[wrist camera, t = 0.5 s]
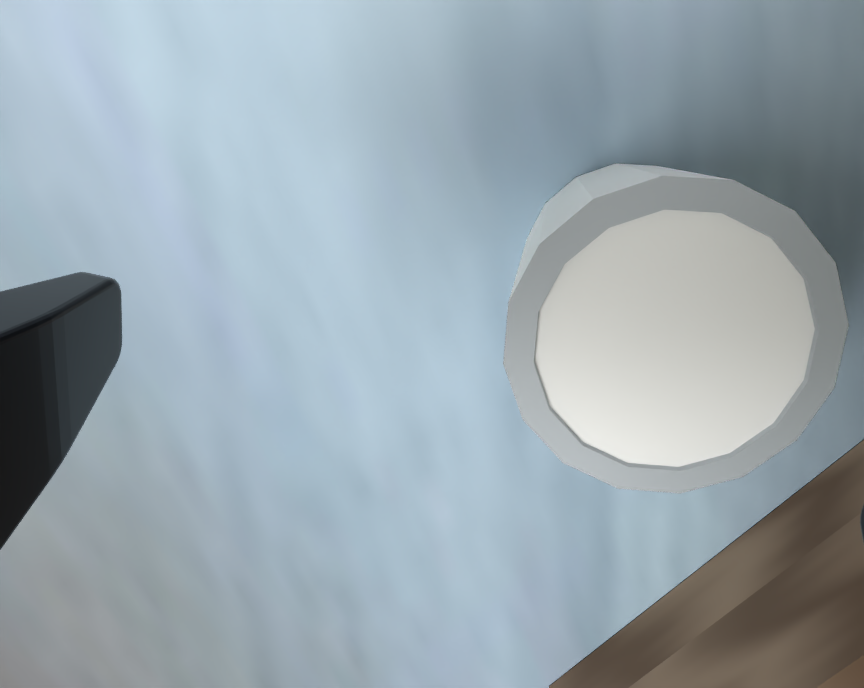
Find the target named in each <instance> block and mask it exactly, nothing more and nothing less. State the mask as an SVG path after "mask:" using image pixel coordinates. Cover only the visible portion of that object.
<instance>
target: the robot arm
mask: <svg viewBox="0 0 864 688" xmlns="http://www.w3.org/2000/svg"><path fill="white" fill-rule="evenodd" d="M121 347H122V310H121V290H120V286H119V284H118V283H117V281H116V280H115V279H112V278H109V277H105V276H100V275H96V274H91V273H86V272H79V273H74V274H70V275H66V276H62V277H58V278H54V279H50V280H46V281H42V282H38V283H34V284H30V285H26V286H22V287H18V288H14V289H9V290H5V291H1V292H0V550H1V548H2V547H3V545H4V544H5V543H6V541H7V540H8V538H9V537H10V536H11V534H12V533H13V531H14V530H15V529H16V527H17V526H18V524H19V523H20V522H21V520H22V519H23V517H24V516H25V515H26V513H27V512H28V510H29V509H30V508H31V506H32V505H33V503H34V502H35V500H36V499H37V498H38V496H39V495H40V493H41V492H42V491H43V489H44V488H45V486H46V485H47V484H48V482H49V481H50V479H51V478H52V476H53V475H54V474H55V472H56V471H57V469H58V468H59V466H60V465H61V463H62V462H63V460H64V458H65V456H66V455H67V453H68V451H69V450H70V448H71V446H72V444H73V442H74V441H75V439H76V437H77V435H78V433H79V431H80V430H81V428H82V426H83V424H84V422H85V420H86V418H87V417H88V415H89V413H90V411H91V409H92V407H93V406H94V404H95V402H96V400H97V398H98V396H99V394H100V393H101V391H102V389H103V387H104V385H105V383H106V382H107V380H108V378H109V376H110V374H111V372H112V370H113V369H114V367H115V365H116V363H117V361H118V358H119V356H120V352H121ZM860 527H861V532H862V538H863V543H864V504H863V507H862V510H861V515H860Z"/></svg>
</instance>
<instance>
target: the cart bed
mask: <svg viewBox="0 0 864 688" xmlns="http://www.w3.org/2000/svg"><path fill="white" fill-rule="evenodd" d="M863 504H864V440H863V441H862V442H860V443H859V444H858V445H856V446H855V447H854V448H853V449H851V450H850V451H849V452H848V453H846V454H845V455H844V456H842V457H841V458H840V459H839V460H837V461H836V462H835V463H834V464H832V465H831V466H830V467H828V468H827V469H826V470H825V471H823V472H822V473H821V474H819V475H818V476H817V477H816V478H814V479H813V480H812V481H811V482H809V483H808V484H807V485H805V486H804V487H803V488H802V489H800V490H799V491H798V492H797V493H795V494H794V495H793V496H791V497H790V498H789V499H788V500H786V501H785V502H784V503H782V504H781V505H780V506H779V507H777V508H776V509H775V510H774V511H772V512H771V513H770V514H768V515H767V516H766V517H765V518H763V519H762V520H761V521H759V522H758V523H757V524H756V525H754V526H753V527H752V528H751V529H749V530H748V531H747V532H745V533H744V534H743V535H742V536H740V537H739V538H738V539H737V540H735V541H734V542H733V543H731V544H730V545H729V546H728V547H726V548H725V549H724V550H722V551H721V552H720V553H719V554H717V555H716V556H715V557H714V558H712V559H711V560H710V561H708V562H707V563H706V564H705V565H703V566H702V567H701V568H699V569H698V570H697V571H696V572H694V573H693V574H692V575H691V576H689V577H688V578H687V579H685V580H684V581H683V582H682V583H680V584H679V585H678V586H677V587H675V588H674V589H673V590H671V591H670V592H669V593H668V594H666V595H665V596H664V597H662V598H661V599H660V600H659V601H657V602H656V603H655V604H654V605H652V606H651V607H650V608H648V609H647V610H646V611H645V612H643V613H642V614H641V615H640V616H638V617H637V618H636V619H634V620H633V621H632V622H631V623H629V624H628V625H627V626H625V627H624V628H623V629H622V630H620V631H619V632H618V633H617V634H615V635H614V636H613V637H611V638H610V639H609V640H608V641H606V642H605V643H604V644H602V645H601V646H600V647H599V648H597V649H596V650H595V651H594V652H592V653H591V654H590V655H588V656H587V657H586V658H585V659H583V660H582V661H581V662H580V663H578V664H577V665H576V666H574V667H573V668H572V669H571V670H569V671H568V672H567V673H565V674H564V675H563V676H562V677H560V678H559V679H558V680H557V681H555V682H554V683H553V684H551V685H550V686H549V688H864V543H863V538H862V532H861V527H860V515H861V510H862V507H863Z"/></svg>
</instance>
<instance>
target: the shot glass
mask: <svg viewBox="0 0 864 688" xmlns="http://www.w3.org/2000/svg"><path fill="white" fill-rule="evenodd" d="M848 327H849V323H848V319H847V314H846V309H845V304H844V299H843V295H842V290H841V285H840V280H839V276H838V271H837V266H836V262H835V261H834V260H833V259H832V257H831V256H830V255H829V253H828V252H827V251H826V250H825V248H824V247H823V246H822V244H821V243H820V242H819V241H818V239H817V238H816V237H815V235H814V234H813V233H812V232H811V230H810V229H809V228H808V226H807V225H806V224H805V223H804V221H803V220H802V219H801V217H800V216H799V215H798V214H797V212H796V211H794V210H793V209H791V208H789V207H787V206H785V205H783V204H781V203H779V202H777V201H775V200H773V199H771V198H769V197H767V196H765V195H763V194H761V193H759V192H757V191H755V190H753V189H751V188H749V187H747V186H745V185H743V184H741V183H739V182H737V181H735V180H732V179H726V178H721V177H715V176H710V175H704V174H699V173H693V172H688V171H683V170H677V169H672V168H666V167H661V166H653V165H635V164H618V163H615V164H612V165H609V166H606V167H604V168H601V169H598V170H595V171H592V172H589V173H586V174H583V175H580V176H577V177H576V178H574V179H573V180H572V181H571V182H570V183H569V184H567V185H566V186H565V187H564V188H563V189H561V190H560V191H559V192H558V193H557V194H556V195H554V196H553V197H552V198H551V199H550V200H549V201H547V202H546V203H545V205H544V207H543V209H542V210H541V212H540V214H539V216H538V218H537V220H536V222H535V224H534V226H533V228H532V230H531V231H530V233H529V235H528V237H527V240H526V243H525V247H524V250H523V253H522V257H521V260H520V264H519V267H518V271H517V274H516V278H515V281H514V285H513V288H512V292H511V295H510V299H509V302H508V314H507V326H506V338H505V350H504V362H503V364H504V367H505V370H506V373H507V376H508V379H509V381H510V384H511V387H512V390H513V393H514V396H515V399H516V401H517V404H518V407H519V410H520V413H521V416H522V419H523V420H524V421H525V423H526V424H527V425H528V426H529V427H530V428H531V429H532V430H533V431H534V432H535V433H536V434H537V435H538V437H539V438H540V439H541V440H542V441H543V442H544V443H545V444H546V445H547V446H548V447H549V448H550V449H551V450H552V452H553V453H554V454H555V455H556V456H557V457H558V458H559V459H560V460H561V461H562V462H563V463H564V464H566V465H569V466H571V467H573V468H575V469H577V470H579V471H581V472H584V473H586V474H588V475H590V476H592V477H594V478H597V479H599V480H601V481H603V482H605V483H607V484H609V485H612V486H614V487H616V488H619V489H631V490H644V491H656V492H669V493H684V492H688V491H691V490H695V489H699V488H703V487H707V486H710V485H714V484H718V483H722V482H726V481H729V480H733V479H737V478H741V477H743V476H745V475H746V474H748V473H749V472H751V471H752V470H754V469H755V468H757V467H758V466H760V465H761V464H763V463H764V462H766V461H767V460H769V459H770V458H772V457H773V456H774V455H776V454H777V453H779V452H780V451H782V450H783V449H785V448H786V447H788V446H789V445H791V444H792V443H794V442H795V441H797V439H798V438H799V437H800V435H801V434H802V432H803V431H804V430H805V428H806V427H807V425H808V424H809V423H810V421H811V420H812V418H813V417H814V416H815V414H816V413H817V411H818V410H819V409H820V407H821V406H822V404H823V403H824V402H825V400H826V399H827V397H828V396H829V395H830V393H831V392H832V390H833V389H834V387H835V383H836V379H837V375H838V370H839V366H840V362H841V357H842V353H843V349H844V344H845V340H846V336H847V331H848Z"/></svg>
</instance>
